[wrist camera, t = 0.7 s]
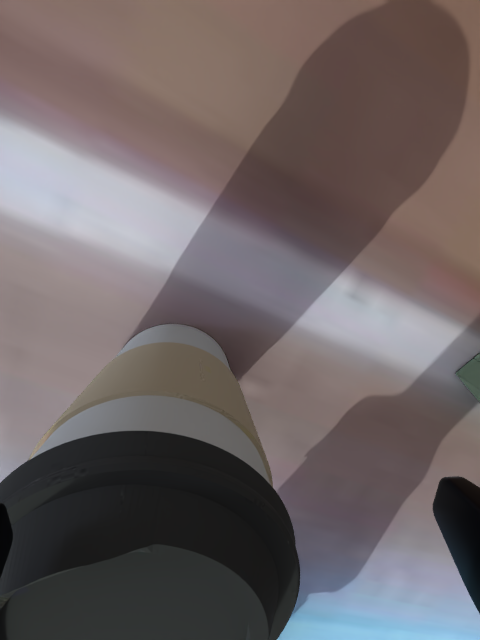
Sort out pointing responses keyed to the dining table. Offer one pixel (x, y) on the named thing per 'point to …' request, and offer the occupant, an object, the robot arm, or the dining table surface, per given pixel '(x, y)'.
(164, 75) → the dining table surface
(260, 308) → the dining table surface
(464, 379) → the caddy
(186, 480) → the coffee cup
